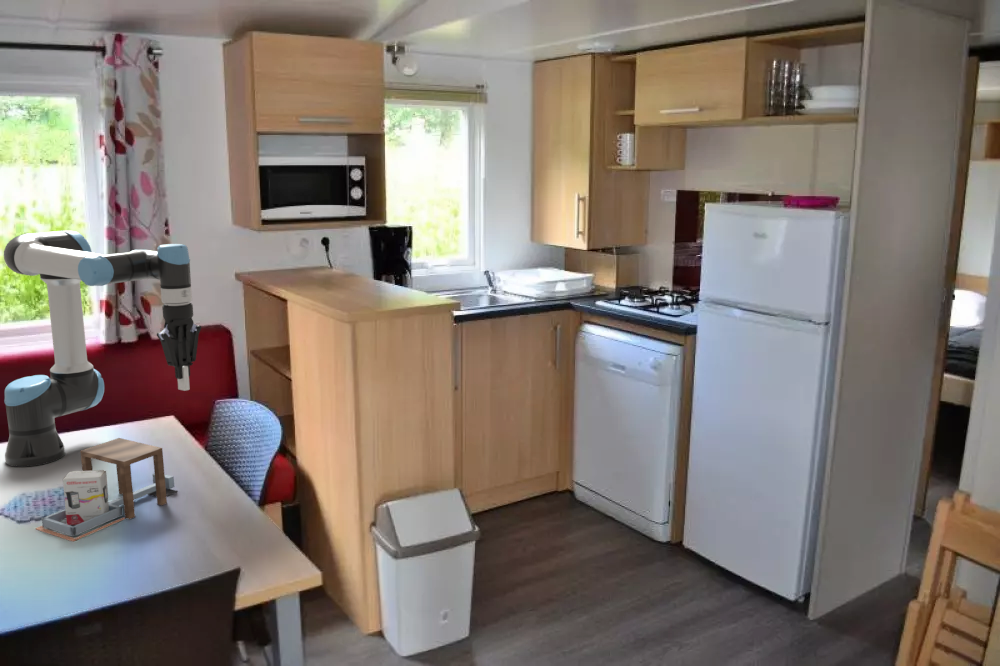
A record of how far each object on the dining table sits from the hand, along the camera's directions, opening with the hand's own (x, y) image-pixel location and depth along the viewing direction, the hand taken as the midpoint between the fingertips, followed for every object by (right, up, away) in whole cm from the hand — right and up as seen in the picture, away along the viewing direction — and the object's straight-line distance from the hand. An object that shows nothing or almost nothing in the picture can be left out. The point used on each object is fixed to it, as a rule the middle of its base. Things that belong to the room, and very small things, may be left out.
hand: (184, 389), depth 221 cm
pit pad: (-4, -26, -7) cm, 28 cm away
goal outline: (-14, -30, -26) cm, 42 cm away
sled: (-10, -28, -18) cm, 35 cm away
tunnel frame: (-9, -28, -15) cm, 33 cm away
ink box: (-14, -30, -24) cm, 41 cm away
